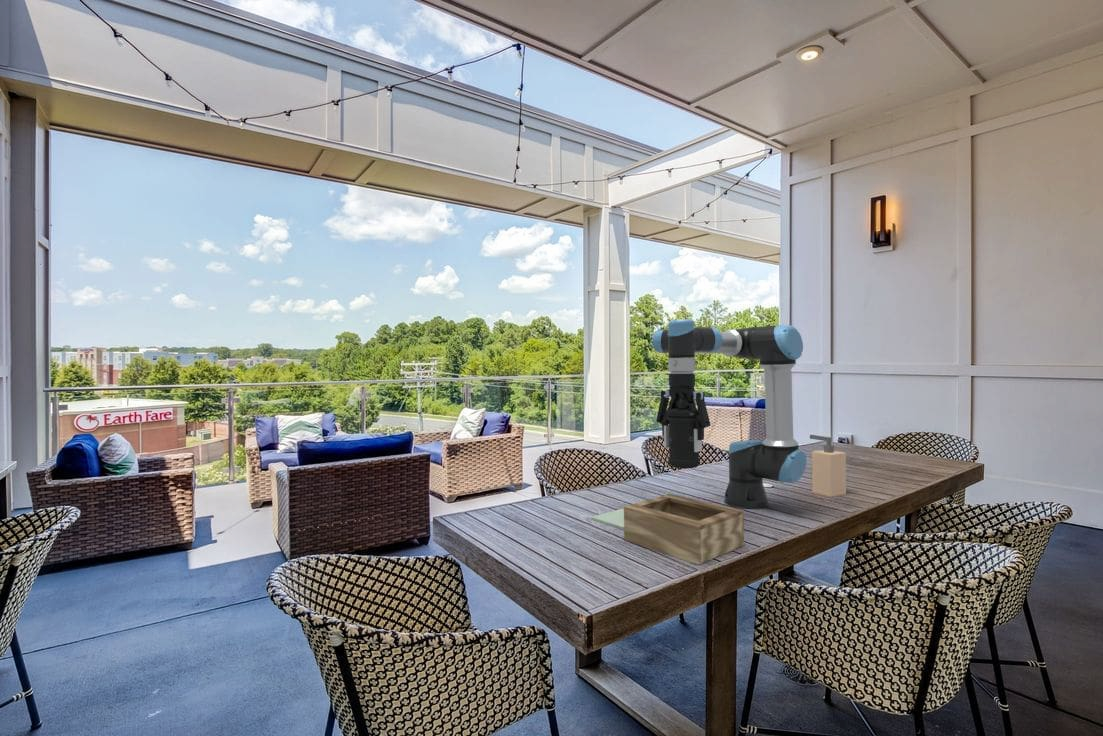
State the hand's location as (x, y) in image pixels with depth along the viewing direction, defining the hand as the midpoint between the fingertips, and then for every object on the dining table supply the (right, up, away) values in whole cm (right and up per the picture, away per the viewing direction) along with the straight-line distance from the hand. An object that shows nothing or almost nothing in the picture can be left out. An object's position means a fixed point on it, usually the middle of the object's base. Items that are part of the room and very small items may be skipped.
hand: (682, 449), depth 156 cm
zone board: (-14, -27, +23) cm, 38 cm away
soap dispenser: (+70, -26, +57) cm, 94 cm away
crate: (0, -27, 0) cm, 27 cm away
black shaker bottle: (0, -5, 0) cm, 5 cm away
